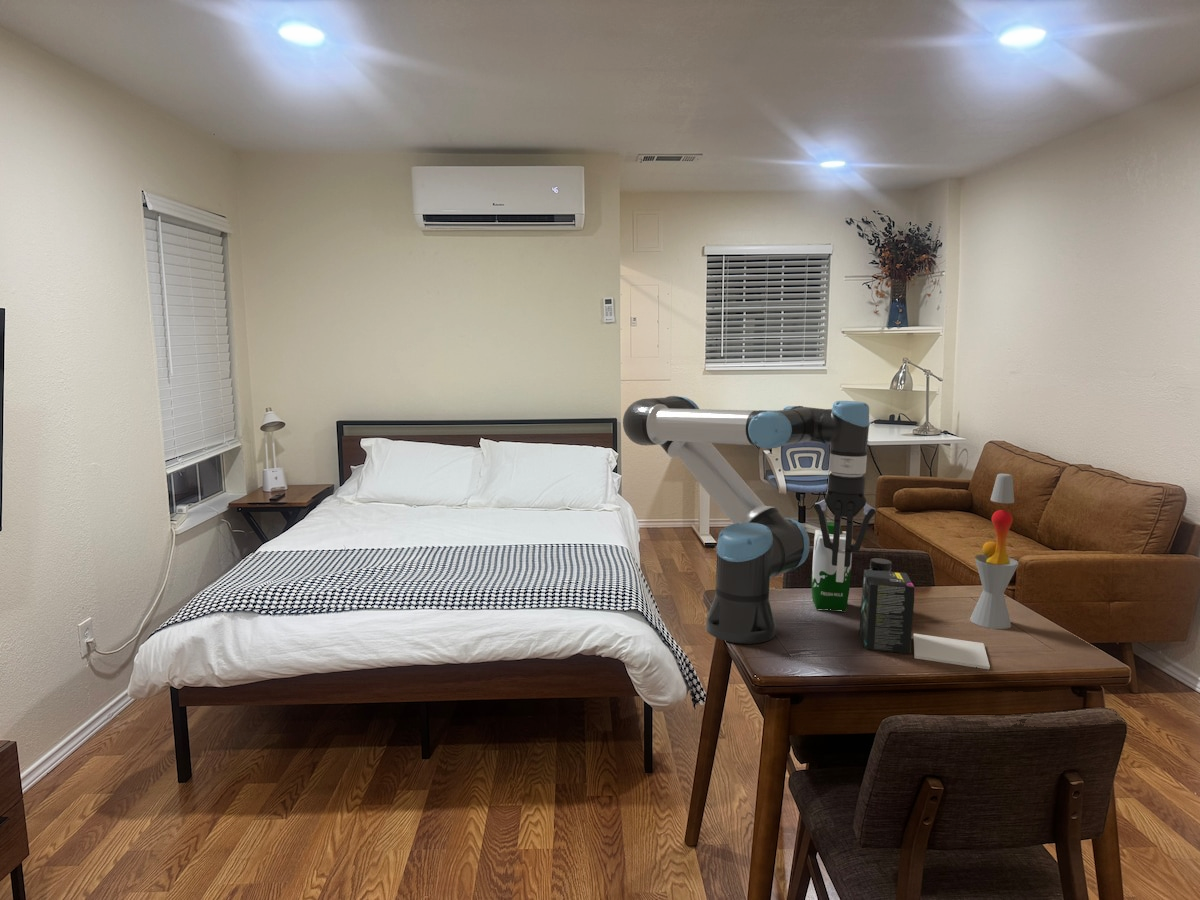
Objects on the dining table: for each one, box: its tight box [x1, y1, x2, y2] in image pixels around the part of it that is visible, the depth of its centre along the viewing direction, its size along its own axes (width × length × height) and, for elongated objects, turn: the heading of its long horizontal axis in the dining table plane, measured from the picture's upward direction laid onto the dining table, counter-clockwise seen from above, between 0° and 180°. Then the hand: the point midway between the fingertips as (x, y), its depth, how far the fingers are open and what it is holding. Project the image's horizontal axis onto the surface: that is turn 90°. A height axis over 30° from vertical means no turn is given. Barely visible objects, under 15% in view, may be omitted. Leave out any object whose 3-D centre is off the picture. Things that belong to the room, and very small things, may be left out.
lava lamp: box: [969, 473, 1019, 630], centre depth 181 cm, size 9×9×35 cm
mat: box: [912, 633, 991, 670], centre depth 166 cm, size 14×13×1 cm
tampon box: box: [858, 568, 916, 654], centre depth 169 cm, size 11×9×15 cm
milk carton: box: [811, 521, 853, 612], centre depth 191 cm, size 9×9×20 cm
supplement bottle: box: [868, 557, 892, 572], centre depth 191 cm, size 7×7×12 cm
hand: (839, 580), depth 172 cm, fingers closed
